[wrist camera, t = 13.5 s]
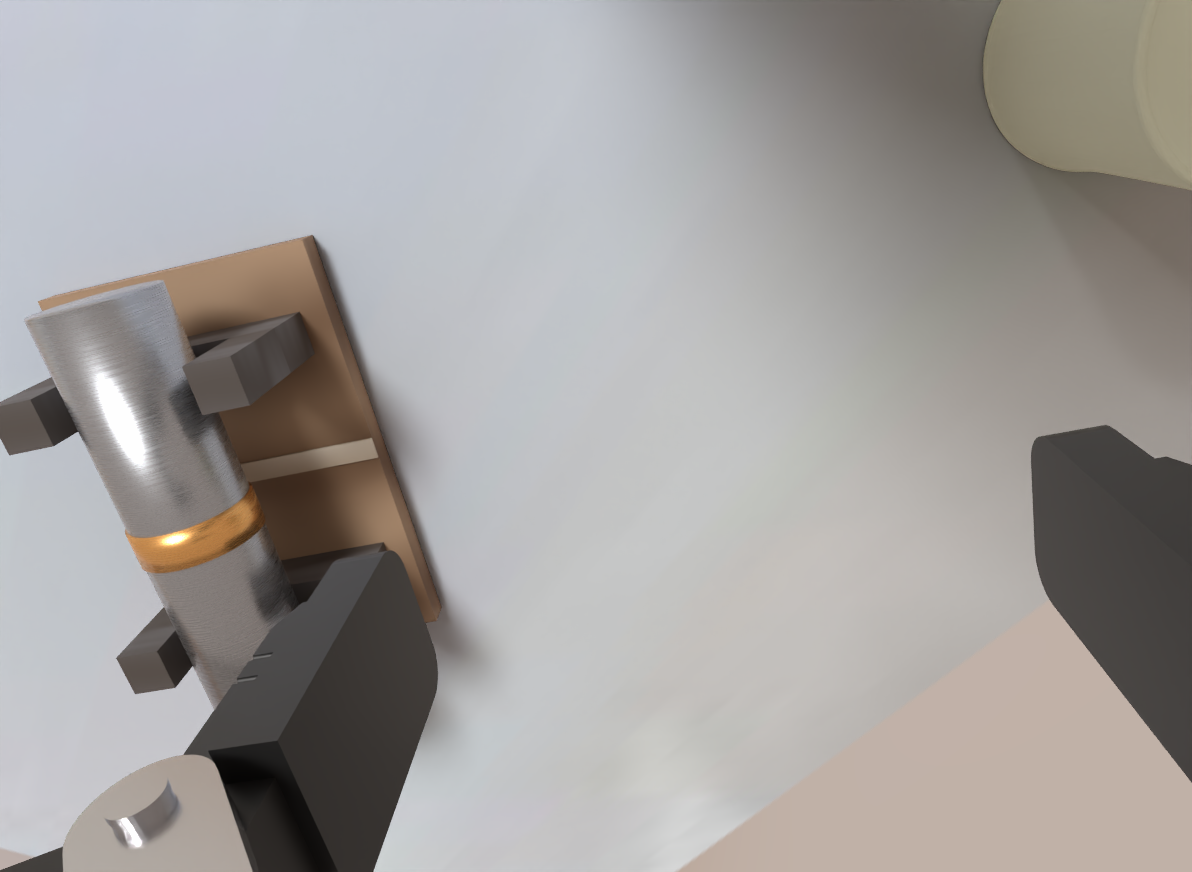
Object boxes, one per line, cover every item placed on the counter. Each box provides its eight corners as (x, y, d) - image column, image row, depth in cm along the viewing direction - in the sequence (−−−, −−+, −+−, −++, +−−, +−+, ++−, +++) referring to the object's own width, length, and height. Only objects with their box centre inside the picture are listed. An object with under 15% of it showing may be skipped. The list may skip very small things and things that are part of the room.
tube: (73, 298, 35) (-12, 330, 30) (188, 271, 35) (121, 299, 30) (250, 682, 42) (204, 757, 38) (348, 663, 42) (315, 737, 37)
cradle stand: (54, 295, 40) (-82, 343, 32) (312, 235, 38) (230, 271, 30) (219, 644, 47) (138, 749, 39) (441, 607, 45) (400, 709, 38)
